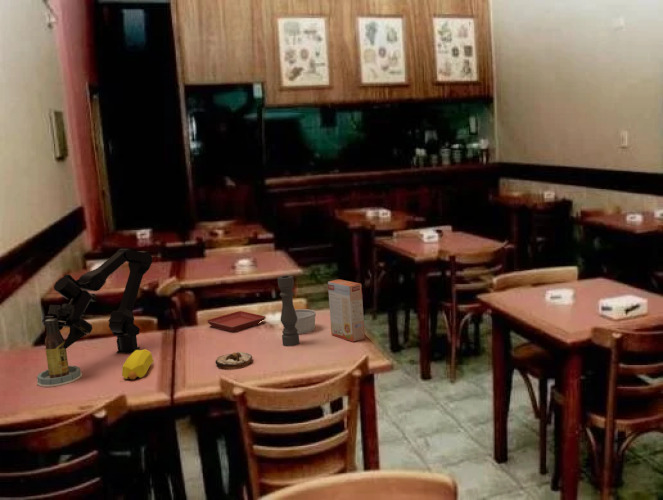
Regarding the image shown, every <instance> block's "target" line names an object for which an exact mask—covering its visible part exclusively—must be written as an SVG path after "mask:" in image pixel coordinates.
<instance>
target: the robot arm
mask: <svg viewBox="0 0 663 500" xmlns="http://www.w3.org/2000/svg"><path fill="white" fill-rule="evenodd" d="M153 260H154V259H153V256H152V254H151V252H149V251H139V250H138V251H137V250H133V249H130V248H119V249H118V250H116V252H115V253H114V254H113V255H112V256H111V257H110V258H108V259H107V260H105V261H104V262H103V263H102V264H100V265H99V266H98V267H97V268H95V269H93V270H89V271H87V272H86V273H84V274H82V275H81V276H79V278H78V279H74V277H73V276H72V275H71V274H64V275H63V277H61V278H58V280H57V281H56V282H55V284H54V285H53V290H54V291H55V292H57V293H58V294H59V295H61V297H63V298H65V299H66V300H70V301H69V303H62V305H58V304H50V305H49V307H48V311H47V315H46V316H44V317H43V319H42V321H41V323H43V326H45V329H46V330H47V326H46V323H45V320H48V319H52V318H58V321H59V323H58V324H59V330H60V333H61V330H63V328H69V333H68V335H67V337H66V339H65V343H64V346H63V348H65V349H66V350H67V349H68V348H69V347H70V346H72V345H73V344H74V343H76V342H78V341H79V340H80V339H82V338H83V337H85V336H87V335H88V334H91V332H92V330H93V325H92V324H90V322H88V321H87V320H85V319H84V318H82V317H85V316H86V315H87V312H85V311H86V310H87V308H88V306H89V304H90V302H92V303H93V302H96V303H97V298H96V295H95V293H91V292H98V291H100V290H101V289H102V288H103V287H104V285H105V284H106V282H107V279H108V278H109V276H111V275H112V274H113V273H114V272H116V271H117V270H118V269H119V268H120V267H121V266H122V265H124V264H125V263H126V262H127V263H128V264H127V265H128V269H129V274H128V277H127V280H126V284H125V287H124V291H123V294H122V297H121V301H120V304H119V307H118V308H117V309H116V310H111V312H110V316H109V319H108V327H109V330H110V331H111V332H112V335H113V336H114V337H115V336H116V338H117V339H116V345H117V350H116V354H132V353H133V352H134V351H135V350H140V349H141V346H138V339H137V335H139V334H140V330H141V329H140V327H138V326H137V325H136V324H135V316H134V313H133V312H134V311H133V310H134V307H135V303H136V300H137V296H138V294H139V291H140V287H141V284H142V280H143V276H144V275H145V274H146V273H147V272H148V271H149V269H150V268H151V266H152V263H153ZM47 334H48V333H47V331H46V333H45V337H46V336H47Z"/></svg>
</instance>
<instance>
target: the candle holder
mask: <svg viewBox="0 0 663 500" xmlns="http://www.w3.org/2000/svg"><path fill="white" fill-rule="evenodd" d="M294 285H295V282H294V275H291V274H290V275H281V276H278V277H277V286H278V289H279V291H280V293H279V297H281V303H282V306H281V314H280V322H281V324H282V326H283V330H282V332H281V333H282V334H281V340H282V341H281V343H282V346H284V347H295V346H298V345H299V344H300V334H298V333H297V332H298V330H297V329H296V327H295V326H296V325H295V324H296V322H297V315H296V312H295V310H296V309H295V307H294V301H293V296H294V295H295V292H294V291H293V289H294Z"/></svg>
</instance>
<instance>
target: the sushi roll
mask: <svg viewBox="0 0 663 500" xmlns="http://www.w3.org/2000/svg"><path fill="white" fill-rule="evenodd" d="M252 363H253V356H252V354H250V353H248V352H244V351H243V352H242V351H239V352H238V351H237V352H233V353H228V354H222V355H220V356H218V357H217V358H216V360H215V364H216V367H217V368H218V370H228V371H229V370H237V369H241V368H244V367H247V366H249V365H251V364H252Z"/></svg>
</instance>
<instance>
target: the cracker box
mask: <svg viewBox="0 0 663 500" xmlns="http://www.w3.org/2000/svg"><path fill="white" fill-rule="evenodd" d="M327 287H328V288H327V289H328V290H327V291H328V303H329V316H330V317H329V319H330V331H331V333H330V334H331V336H334V337H337V338H340V339H343V340H345V341H350V342H352V343H354V342H357V341H362V340H365V337H366V335H365V320H364V318H365V317H364V307H363V306H364V305H363V288H362V287H363V286H362V283H360V282H354V281H349V280H344V279H334V280H329V281H327Z"/></svg>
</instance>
